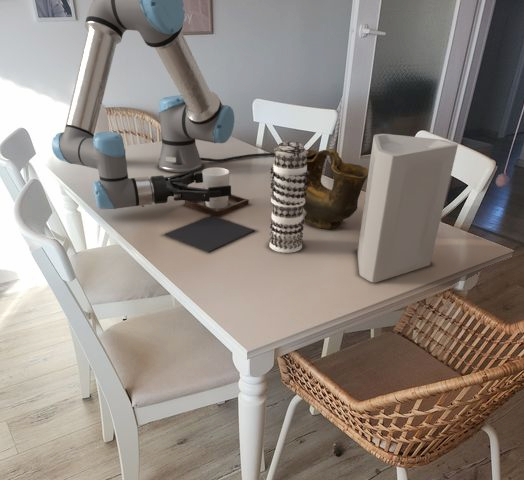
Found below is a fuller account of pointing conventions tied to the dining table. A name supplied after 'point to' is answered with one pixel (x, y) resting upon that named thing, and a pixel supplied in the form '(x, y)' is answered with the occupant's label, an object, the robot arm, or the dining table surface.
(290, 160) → the decorative candle
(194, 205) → the wooden frame
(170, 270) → the dining table surface
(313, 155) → the pottery vessel
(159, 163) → the robot arm
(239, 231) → the mat
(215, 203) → the white cup
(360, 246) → the white triangular vase
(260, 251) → the dining table surface
